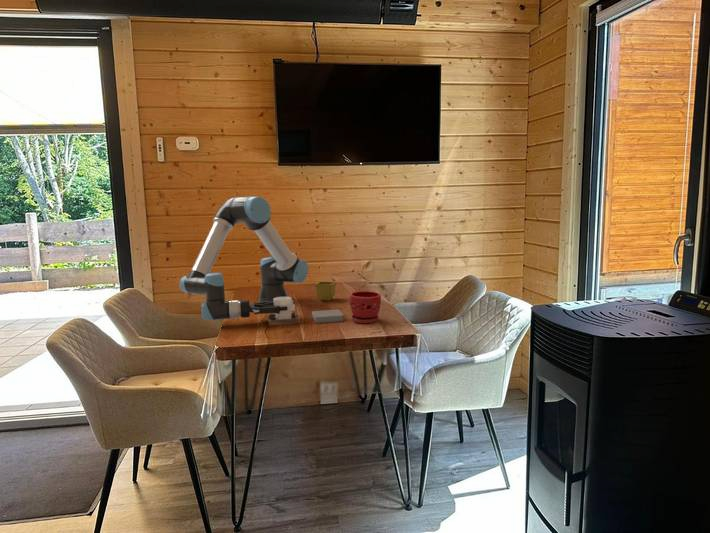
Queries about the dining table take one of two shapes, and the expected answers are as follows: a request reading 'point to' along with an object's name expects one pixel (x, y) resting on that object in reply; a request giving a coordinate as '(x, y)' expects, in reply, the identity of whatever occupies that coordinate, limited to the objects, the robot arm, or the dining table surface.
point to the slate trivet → (327, 316)
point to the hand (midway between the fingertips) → (294, 305)
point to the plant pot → (365, 306)
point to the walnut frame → (283, 320)
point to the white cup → (282, 301)
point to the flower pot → (325, 290)
